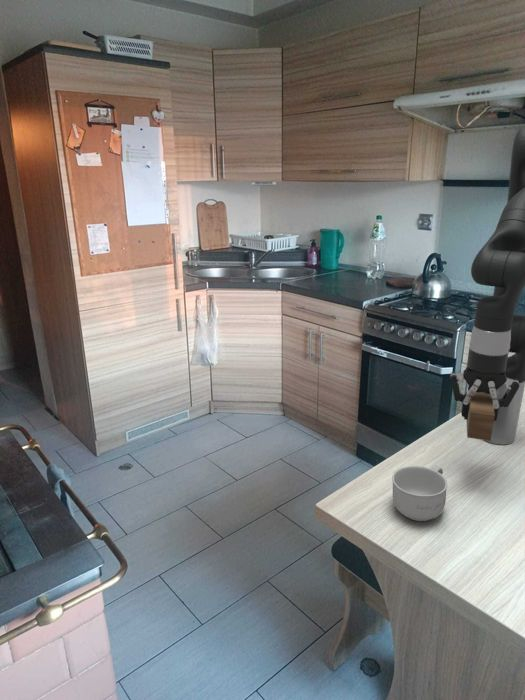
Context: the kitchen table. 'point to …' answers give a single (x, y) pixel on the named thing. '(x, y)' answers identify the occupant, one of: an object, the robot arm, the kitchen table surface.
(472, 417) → the walnut beam
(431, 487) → the teacup
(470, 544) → the kitchen table surface
